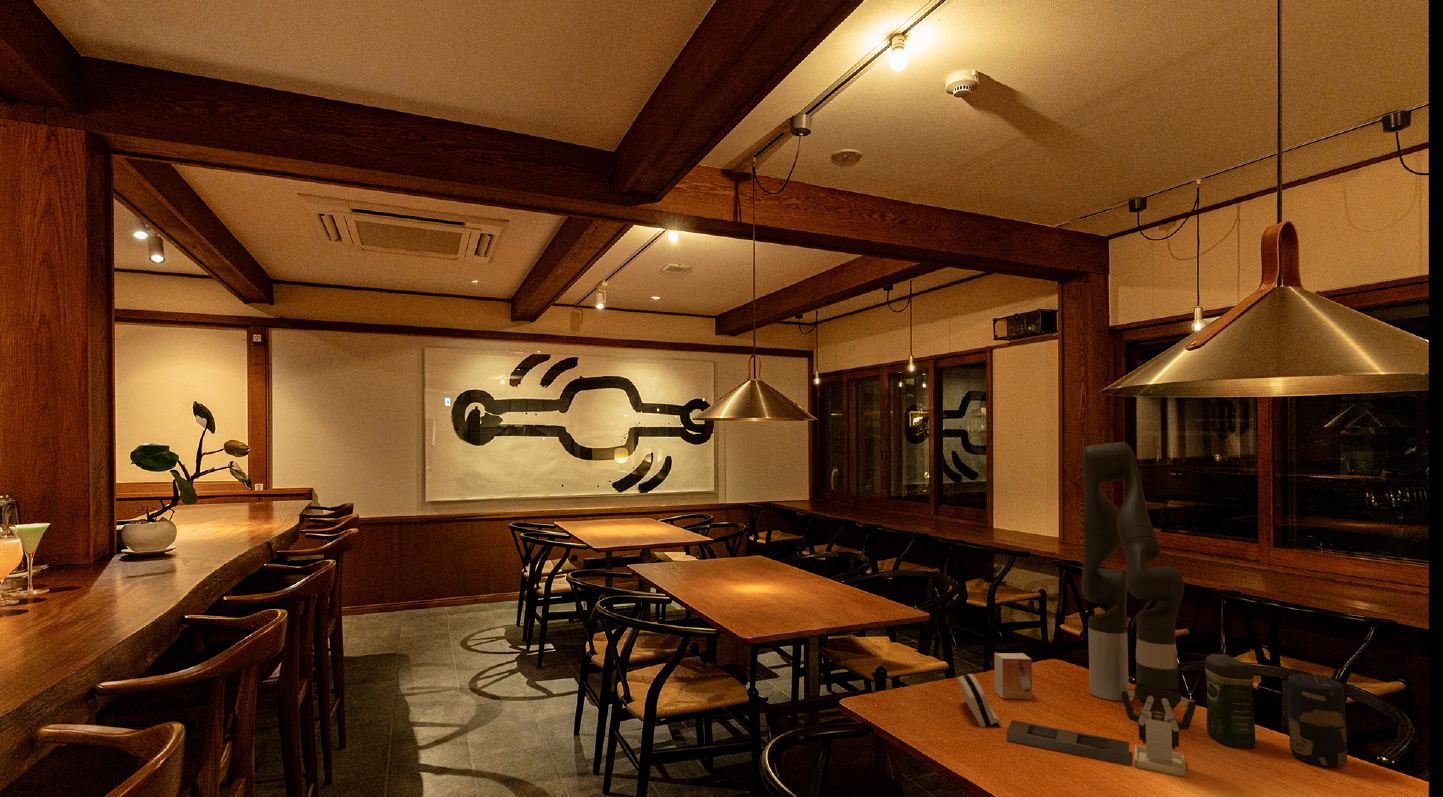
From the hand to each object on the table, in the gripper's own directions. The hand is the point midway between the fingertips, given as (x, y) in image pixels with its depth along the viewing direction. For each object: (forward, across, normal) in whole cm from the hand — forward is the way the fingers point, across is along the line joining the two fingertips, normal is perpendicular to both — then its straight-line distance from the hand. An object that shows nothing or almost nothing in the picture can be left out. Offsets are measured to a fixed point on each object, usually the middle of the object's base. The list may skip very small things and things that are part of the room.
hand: (1158, 744), depth 152 cm
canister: (+4, -30, -20) cm, 36 cm away
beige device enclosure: (+4, +38, -10) cm, 40 cm away
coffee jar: (+4, -14, -23) cm, 28 cm away
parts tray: (+4, 0, 0) cm, 4 cm away
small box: (+4, +32, -28) cm, 43 cm away
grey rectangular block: (+2, 0, 0) cm, 2 cm away
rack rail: (+4, +17, 0) cm, 18 cm away
